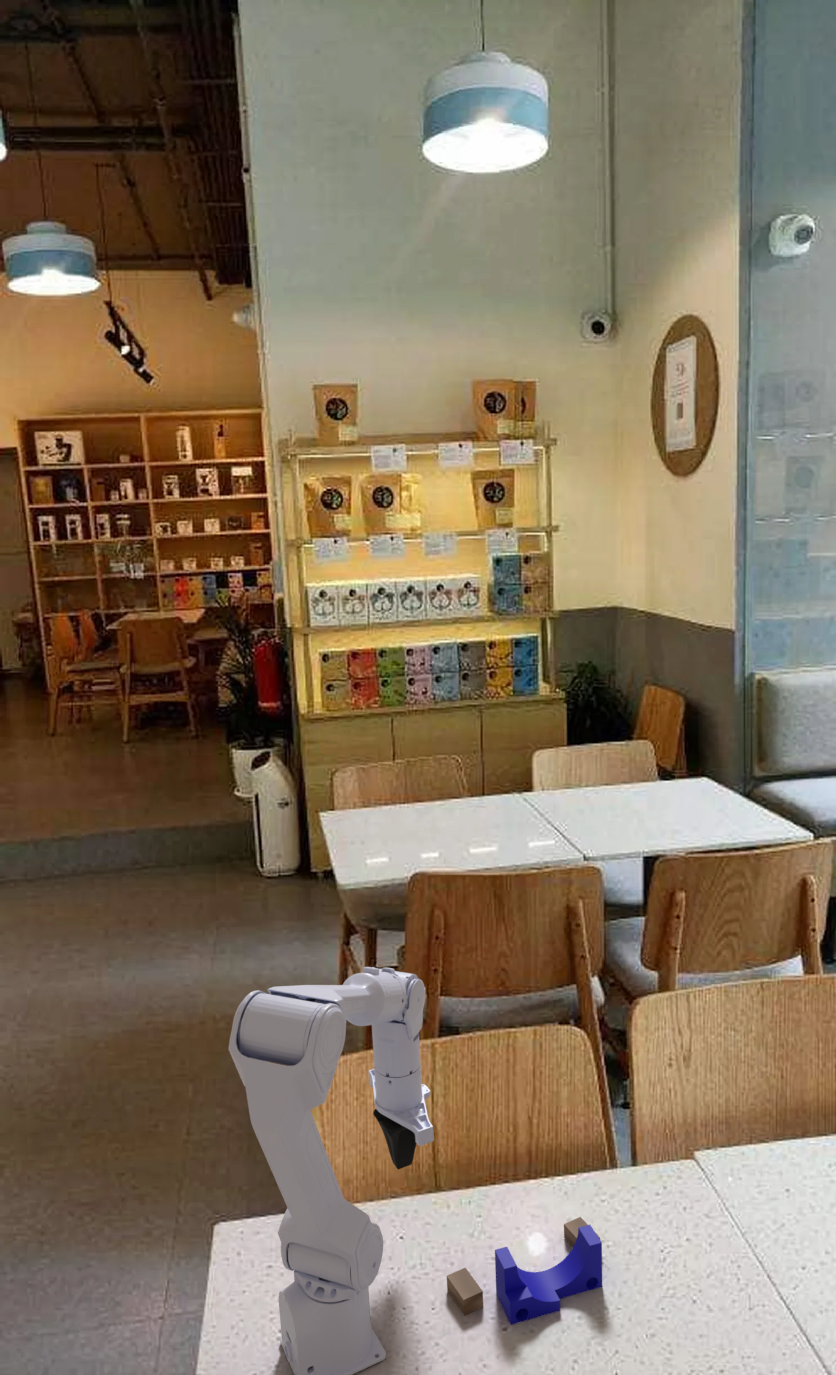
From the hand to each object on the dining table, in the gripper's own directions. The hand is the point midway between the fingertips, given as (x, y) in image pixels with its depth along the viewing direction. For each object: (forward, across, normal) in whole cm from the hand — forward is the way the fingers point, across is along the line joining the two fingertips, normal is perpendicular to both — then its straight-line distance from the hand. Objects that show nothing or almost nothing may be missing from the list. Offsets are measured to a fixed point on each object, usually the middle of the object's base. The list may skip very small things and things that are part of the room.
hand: (402, 1163), depth 119 cm
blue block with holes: (+10, -18, -10) cm, 23 cm away
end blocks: (+9, -13, -10) cm, 19 cm away
